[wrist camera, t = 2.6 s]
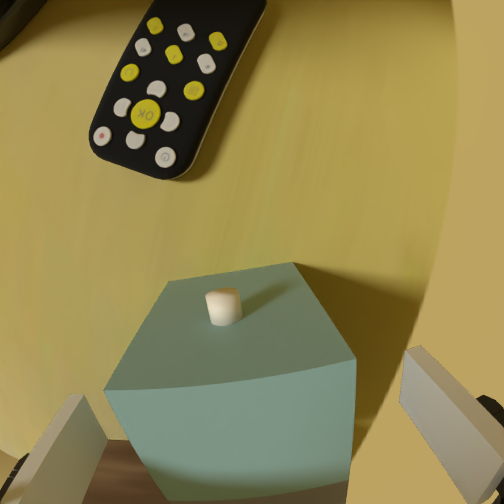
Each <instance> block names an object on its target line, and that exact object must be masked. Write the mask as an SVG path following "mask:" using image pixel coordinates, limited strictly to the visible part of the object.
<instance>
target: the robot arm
mask: <svg viewBox="0 0 504 504" xmlns="http://www.w3.org/2000/svg"><path fill="white" fill-rule="evenodd" d="M45 1H46V0H0V50H1V49H2V48H4V47H5V46H6V45H7V44H8V43H9V42H10V41H11V40H12V39H13V38H14V37H15V36H16V35H17V34H18V33H19V31H20V30H21V29H22V28H23V27H24V26H25V25H26V24H27V23H28V22H29V20H30V19H31V18H32V17H33V16H34V15H35V13H36V12H37V11H38V10H39V8H40V7H41V6H42V5H43V3H44V2H45ZM399 403H400V404H401V405H402V407H403V408H404V410H405V411H406V413H407V414H408V415H409V417H410V418H411V420H412V421H413V423H414V424H415V425H416V427H417V428H418V430H419V431H420V433H421V434H422V436H423V437H424V439H425V440H426V441H427V443H428V445H429V446H430V447H431V449H432V451H433V452H434V453H435V455H436V456H437V458H438V459H439V461H440V462H441V464H442V465H443V467H444V468H445V470H446V471H447V473H448V475H449V476H450V478H451V479H452V481H453V482H454V484H455V485H456V487H457V488H458V490H459V491H460V493H461V494H462V496H463V498H464V499H465V501H466V502H467V504H481V503H483V502H485V501H486V500H488V499H489V498H490V497H491V495H492V494H493V493H494V491H495V490H497V491H498V492H499V495H498V497H497V498H496V499H495V501H494V502H493V503H492V504H504V409H503V407H502V406H501V405H500V404H499V403H498V402H497V401H496V400H494V399H492V398H490V397H488V396H485V395H482V396H480V397H478V398H476V399H475V398H474V397H473V396H472V395H471V394H470V393H469V392H468V391H467V390H466V389H465V388H464V387H463V386H462V385H461V384H460V383H459V382H458V381H457V380H456V379H455V378H454V377H453V376H452V375H451V374H450V373H449V372H448V371H447V370H446V369H445V368H444V367H443V366H442V365H441V364H440V363H439V362H437V361H436V360H435V359H434V358H433V357H432V356H431V355H430V354H429V353H428V352H427V351H426V350H425V349H424V348H423V347H422V346H421V345H420V346H417V347H414V348H411V349H407V350H405V352H404V363H403V373H402V382H401V391H400V398H399ZM107 442H108V438H107V437H106V435H105V433H104V431H103V430H102V428H101V426H100V424H99V422H98V421H97V419H96V417H95V415H94V413H93V411H92V409H91V407H90V405H89V403H88V401H87V399H86V397H85V395H84V394H70V395H69V397H68V398H67V399H66V401H65V402H64V404H63V405H62V407H61V408H60V409H59V411H58V412H57V414H56V415H55V417H54V418H53V420H52V421H51V423H50V424H49V426H48V427H47V428H46V430H45V431H44V433H43V434H42V436H41V437H40V439H39V440H38V442H37V444H36V445H35V447H34V448H33V450H32V451H31V453H30V454H29V453H27V454H26V455H25V456H24V457H22V458H21V459H20V460H19V461H18V463H17V464H16V466H15V467H14V471H12V472H11V474H10V475H9V476H10V477H8V478H7V480H6V482H5V483H4V485H3V486H2V488H1V490H0V504H82V501H83V499H84V496H85V494H86V491H87V489H88V486H89V484H90V482H91V479H92V477H93V474H94V472H95V470H96V467H97V465H98V463H99V460H100V458H101V456H102V453H103V451H104V449H105V447H106V444H107Z"/></svg>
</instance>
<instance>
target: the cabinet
mask: <svg viewBox="0 0 504 504" xmlns="http://www.w3.org/2000/svg"><path fill="white" fill-rule="evenodd" d="M103 391H104V393H105V395H106V397H107V399H108V401H109V403H110V405H111V407H112V409H113V411H114V413H115V415H116V417H117V419H118V421H119V423H120V425H121V426H122V428H123V430H124V432H125V434H126V435H127V437H128V439H129V441H130V443H131V444H132V446H133V448H134V449H135V451H136V453H137V454H138V456H139V458H140V459H141V461H142V463H143V464H144V466H145V467H146V469H147V471H148V472H149V474H150V475H151V477H152V478H153V480H154V481H155V483H156V484H157V486H158V487H159V489H160V490H161V491H162V493H163V494H164V496H165V497H166V499H167V500H168V501H169V503H170V504H346V497H347V490H348V481H349V474H350V465H351V455H352V444H353V431H354V416H355V396H356V357H355V356H354V354H353V352H352V351H351V349H350V348H349V346H348V345H347V343H346V342H345V340H344V339H343V337H342V336H341V334H340V332H339V331H338V329H337V328H336V326H335V325H334V323H333V322H332V320H331V319H330V317H329V316H328V314H327V313H326V311H325V310H324V308H323V307H322V305H321V304H320V302H319V301H318V299H317V298H316V296H315V295H314V293H313V292H312V290H311V289H310V287H309V286H308V284H307V283H306V281H305V280H304V278H303V277H302V275H301V274H300V272H299V271H298V270H297V268H296V267H295V265H294V264H293V262H289V263H283V264H277V265H271V266H265V267H259V268H253V269H246V270H240V271H234V272H228V273H221V274H215V275H208V276H202V277H196V278H189V279H183V280H176V281H169V282H168V283H167V285H166V287H165V288H164V290H163V291H162V293H161V294H160V296H159V298H158V299H157V301H156V302H155V304H154V306H153V307H152V309H151V311H150V312H149V314H148V315H147V317H146V319H145V320H144V322H143V324H142V325H141V327H140V328H139V330H138V332H137V333H136V335H135V337H134V338H133V340H132V342H131V343H130V345H129V347H128V349H127V350H126V352H125V354H124V355H123V357H122V359H121V361H120V362H119V364H118V366H117V367H116V369H115V371H114V373H113V374H112V376H111V378H110V380H109V381H108V383H107V385H106V387H105V389H104V390H103Z"/></svg>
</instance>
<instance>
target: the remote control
mask: <svg viewBox="0 0 504 504" xmlns="http://www.w3.org/2000/svg"><path fill="white" fill-rule="evenodd" d="M266 6H267V0H154V2H153V3H152V5H151V6H150V8H149V9H148V11H147V13H146V14H145V16H144V17H143V19H142V21H141V22H140V24H139V26H138V27H137V29H136V31H135V33H134V34H133V36H132V38H131V40H130V42H129V43H128V45H127V47H126V49H125V51H124V53H123V55H122V57H121V59H120V61H119V62H118V64H117V66H116V69H115V71H114V73H113V75H112V77H111V79H110V81H109V83H108V85H107V88H106V90H105V92H104V94H103V97H102V99H101V101H100V104H99V106H98V108H97V111H96V113H95V116H94V118H93V121H92V123H91V126H90V130H89V142H90V146H91V148H92V150H93V152H94V153H95V154H96V155H97V156H98V157H100V158H102V159H103V160H106V161H109V162H111V163H114V164H117V165H120V166H123V167H126V168H128V169H131V170H134V171H137V172H140V173H142V174H145V175H148V176H151V177H153V178H157V179H162V180H168V179H175V178H178V177H180V176H182V175H183V174H185V173H186V172H187V171H188V170H189V169H190V168H191V167H192V165H193V164H194V162H195V160H196V157H197V155H198V152H199V150H200V148H201V145H202V143H203V140H204V138H205V136H206V133H207V131H208V129H209V126H210V124H211V122H212V119H213V117H214V115H215V113H216V110H217V108H218V106H219V104H220V101H221V99H222V97H223V95H224V93H225V90H226V88H227V86H228V84H229V82H230V80H231V78H232V76H233V74H234V71H235V69H236V67H237V65H238V63H239V61H240V59H241V57H242V55H243V53H244V51H245V49H246V47H247V45H248V43H249V41H250V40H251V38H252V36H253V34H254V32H255V30H256V28H257V26H258V24H259V22H260V21H261V19H262V17H263V15H264V13H265V10H266Z"/></svg>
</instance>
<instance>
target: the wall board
mask: <svg viewBox="0 0 504 504" xmlns="http://www.w3.org/2000/svg"><path fill="white" fill-rule="evenodd" d="M82 504H170V503H169V501H168V500H167V499H166V497H165V496H164V494H163V493H162V491H161V490H160V489H159V487H158V486H157V484H156V483H155V481H154V480H153V478H152V477H151V475H150V474H149V472H148V471H147V469H146V467H145V466H144V464H143V463H142V461H141V459H140V458H139V456H138V454H137V453H136V451H135V449H134V448H133V446H132V444H131V443H130V441H120V440H108V442H107V444H106V447H105V449H104V451H103V453H102V456H101V458H100V460H99V463H98V465H97V467H96V470H95V472H94V474H93V477H92V479H91V482H90V484H89V486H88V489H87V491H86V494H85V496H84V499H83V501H82Z"/></svg>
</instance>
